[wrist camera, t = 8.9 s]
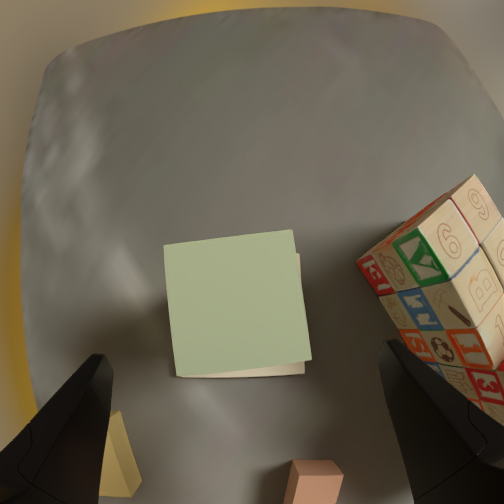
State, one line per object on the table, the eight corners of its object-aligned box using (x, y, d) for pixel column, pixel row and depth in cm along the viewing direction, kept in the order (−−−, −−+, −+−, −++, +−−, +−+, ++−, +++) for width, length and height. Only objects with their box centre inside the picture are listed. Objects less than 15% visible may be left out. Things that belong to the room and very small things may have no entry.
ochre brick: (142, 479, 18) (131, 497, 15) (108, 479, 18) (94, 495, 15) (120, 410, 19) (105, 420, 16) (86, 411, 19) (67, 421, 16)
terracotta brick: (316, 518, 18) (324, 538, 15) (278, 518, 18) (283, 539, 15) (331, 458, 19) (343, 474, 16) (292, 458, 19) (299, 475, 16)
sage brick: (280, 345, 20) (312, 359, 10) (209, 353, 19) (176, 376, 10) (270, 276, 21) (292, 229, 11) (201, 285, 21) (163, 245, 11)
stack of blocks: (350, 262, 22) (451, 200, 10) (406, 219, 23) (507, 146, 11) (464, 454, 19) (557, 493, 7) (505, 406, 20) (599, 421, 8)
